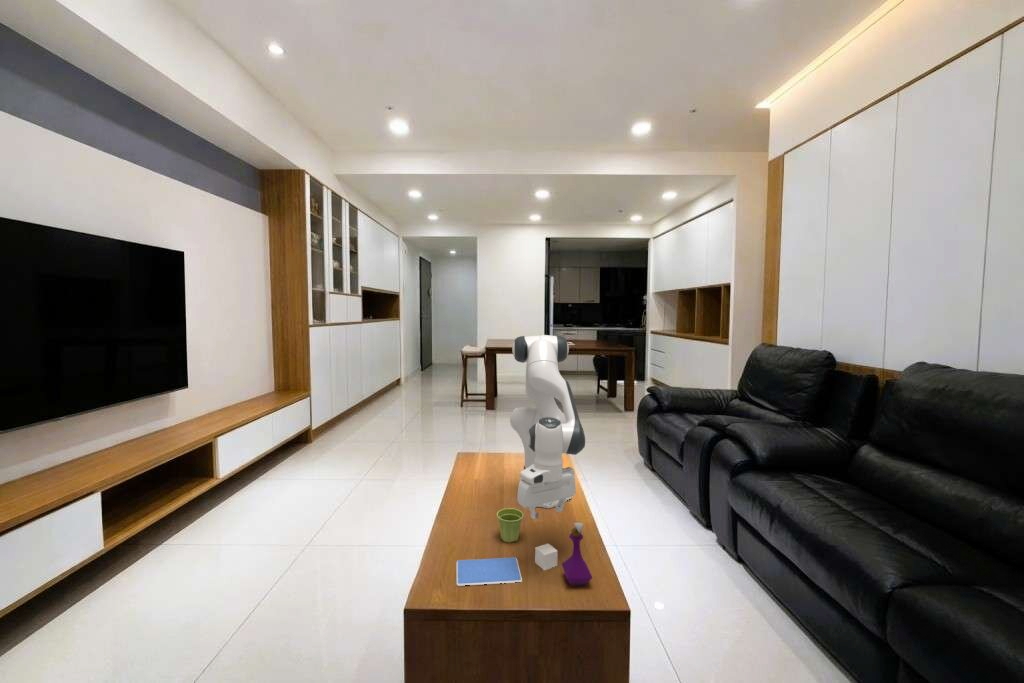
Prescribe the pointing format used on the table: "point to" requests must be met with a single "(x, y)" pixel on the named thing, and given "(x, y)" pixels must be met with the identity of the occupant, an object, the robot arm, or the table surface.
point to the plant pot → (509, 523)
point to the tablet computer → (487, 571)
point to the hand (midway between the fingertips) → (546, 514)
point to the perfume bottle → (576, 560)
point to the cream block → (546, 556)
